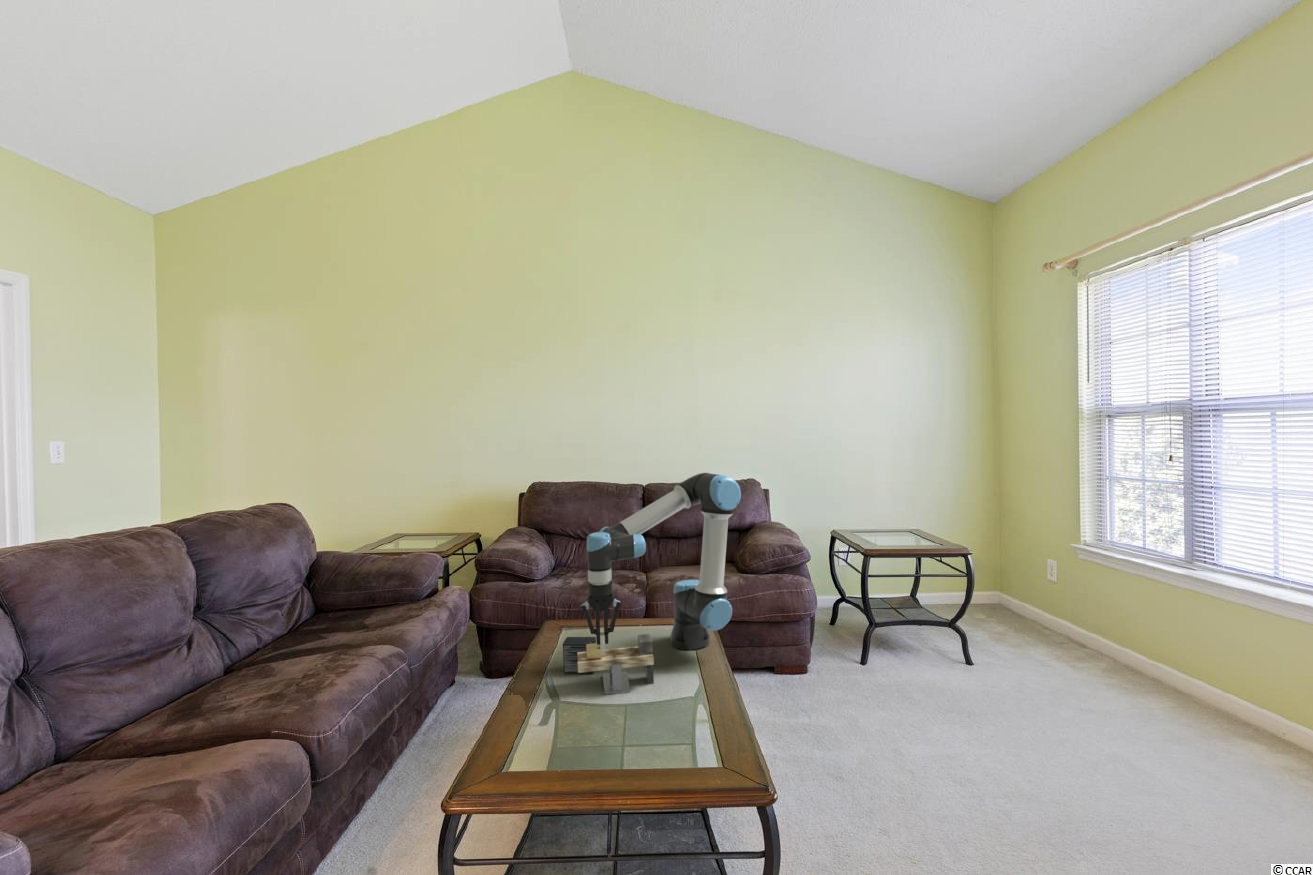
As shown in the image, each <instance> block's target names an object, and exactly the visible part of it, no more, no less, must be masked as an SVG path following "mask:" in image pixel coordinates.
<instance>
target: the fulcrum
mask: <svg viewBox="0 0 1313 875" xmlns="http://www.w3.org/2000/svg"><path fill="white" fill-rule="evenodd" d="M622 670H623V668H622V667H621V663H618V664H612V669H609V672H606V673H602V675H601V676H602V682H603V689H604V690H603V691H604V695H605V696H606V695H616V694H623V693H624V694H625V693H630V692H631V686H630V683H629V677H628V674H627V670H626V671H622ZM644 670H645V679H646V680H645V681H646V683H647V685H652V684H654V683H655V682H654V676H655V675H654V666H653V665H645V666H644Z"/></svg>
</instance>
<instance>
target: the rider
mask: <svg viewBox="0 0 1313 875" xmlns="http://www.w3.org/2000/svg"><path fill="white" fill-rule="evenodd" d="M586 652H587V661H593V660H601V646H600V645H597V642H596V643H593V644H586Z"/></svg>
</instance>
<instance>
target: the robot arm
mask: <svg viewBox="0 0 1313 875" xmlns="http://www.w3.org/2000/svg"><path fill="white" fill-rule="evenodd" d="M741 492H742V490H741V487H740V486H739V484H738V483H737V481H736V480H735V479H734V478H732V477H730V476H727V475H724V474H716V473H709V472H700V473H698V474H697V473H696V474H695V475H692V476H691V477H688V478H686V479H684V481H681V482H680V483H678V484H676V485H675V486H674V487H673V490H672V491H670V492H668V493H667V494H665V495H663V496H661V497H660V498H658V499H657V500H655V501H654V502H652V503H649V504H648V505H647V506H645V507H643V508H641V509H640V510H638V511H637V512H635V513H633V514H632V515H630V516H628V517H626V518H624V519H623V520H622V521H620V522H618V523H616V524H614V525H613V526H604V527H602V528H601V529H600V530H598V531H596V532H593V533H590V534H588V535H587V537H586V558H587V581H588V588H587V589H588V597H587V599H586V601H585V602H583V603H581V604H580V608H581V610H582V612H583V613H584V616H585V618H586V619H585V620H586V622H587V624H588V628H589V632H590V634H591V635H595V637H596V643H597V645H600V646H601V656H603V655H605V650H606V645H608V644H609V634H611V633H613V632H614V631H615V625H616V621H617V616H618V612H619V611H618V610H619V608H620V607H621V605H622V604H621V600H619V599H616V598H615V596H614V594H613V583H612V581H613V580H612V579H613V578H612V576H613V574H612V562H617V561H623V560H629V559H636V558H639V557H643V556H644V555H645V553H646V549H647V548H646V546H647V543H646V539H645V538H644V536H643V535H642V534H644V533H645V532H647V531H649V530H650V529H652V528H654V527H655V526H657V525H659V524H661V523H662V522H663V521H665V520H667V519H668V518H670V517H672V516H673V515H675V514H677V513H678V512H680V511H681V510H683V509H690V508H692V507H693V506H696V505H700V513H701V514H702V515H703V518H704V519H703V527H702V528H703V531H702V542H701V543H702V544H701V556H700V557H701V558H700V571H699V572H700V573H699V579H685V580H680V581H678V582H676V583H674V585H673V590H672V592H673V593H672V594H673V613H674V614H673V616H674V621H673V622H674V623H673V625H672V629H671V632H670V638H669V639H670V641H669V642H670V644H671V646H673V647H674V648H677V649H680V650H685V649H689V651H693V650H692V649H695V650H699V649H698V648H701V649H703V648H702V647H704V646H706V645H708V644H709V643H711V634H710V631H719V630H721V629H723V628H725V626H726V625H727V624H728V623H729V622H730V620H731V618H732V615H733V607H732V604H731V603H730V601H729V600H727V598H728V590H727V588H726V587H725V585H724V583H725V571H726V570H725V569H726V568H725V567H726V556H727V543H728V542H727V541H728V528H729V527H728V526H729V519H730V518H731V517H732V516H733V515H734V509H735V508H737V506H738V505H740V501H741V499H742V493H741ZM611 605H612V606H613V608H612V613H611V618H610V621H609V622H610V623H609V622H608V610H609V608H610V607H611ZM590 607H591V608H592V610H594V614H595V627H594V624H593V621H592V617H591V613H590V611H589V608H590ZM600 611H602V613H603V615H602V616H603V618H602V619H603V631H601V624H600V623H601V620H600V618H601V617H600ZM709 645H710V644H709ZM709 645H708V646H709ZM706 647H707V646H706ZM704 648H705V647H704Z"/></svg>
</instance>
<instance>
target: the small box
mask: <svg viewBox="0 0 1313 875" xmlns="http://www.w3.org/2000/svg"><path fill="white" fill-rule="evenodd" d="M593 643H597V640H596V636H566V638H565V640H564V641H563V642H562V656H563V657H562V658H563V674H569V675H570V674H571V675H573V674H574V675H576V674H578V675H579V674H580V675H581V674H585V675H586V674H587V675H593V674H595V672H596V671H591V672H582V673H578V658H577V652H586V644H593Z"/></svg>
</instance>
